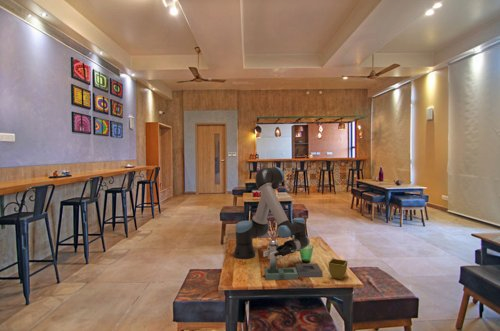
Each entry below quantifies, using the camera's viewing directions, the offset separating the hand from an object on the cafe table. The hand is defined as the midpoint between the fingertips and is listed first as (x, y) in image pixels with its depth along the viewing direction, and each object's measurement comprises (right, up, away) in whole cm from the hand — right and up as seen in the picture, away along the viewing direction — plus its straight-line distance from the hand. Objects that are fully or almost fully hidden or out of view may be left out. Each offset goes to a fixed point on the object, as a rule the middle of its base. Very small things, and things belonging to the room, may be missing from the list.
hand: (266, 255), depth 168 cm
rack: (+8, -13, +4) cm, 16 cm away
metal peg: (+4, -9, +4) cm, 10 cm away
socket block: (+25, -13, +9) cm, 30 cm away
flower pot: (+40, -13, +1) cm, 42 cm away
